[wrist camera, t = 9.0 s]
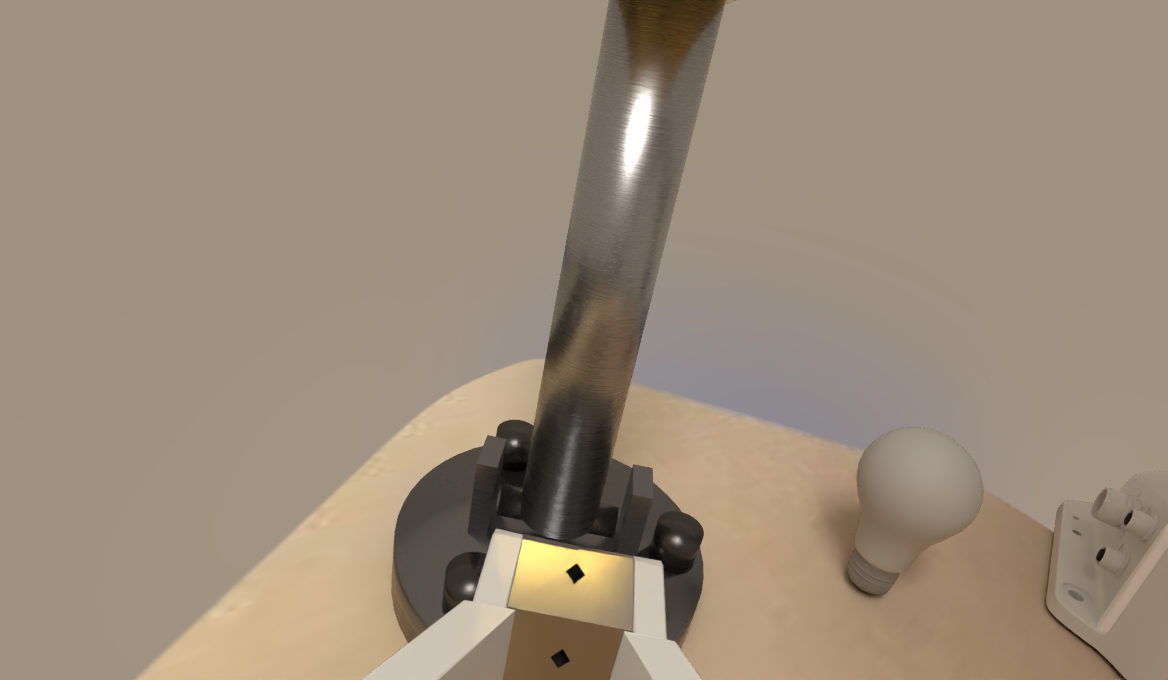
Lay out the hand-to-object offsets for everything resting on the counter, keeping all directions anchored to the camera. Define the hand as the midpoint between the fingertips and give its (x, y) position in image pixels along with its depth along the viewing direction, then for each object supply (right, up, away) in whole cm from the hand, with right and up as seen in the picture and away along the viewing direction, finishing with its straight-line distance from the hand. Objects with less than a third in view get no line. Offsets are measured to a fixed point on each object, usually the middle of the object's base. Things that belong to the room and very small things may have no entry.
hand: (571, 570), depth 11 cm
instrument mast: (-1, -5, +21) cm, 22 cm away
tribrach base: (-2, -9, +23) cm, 25 cm away
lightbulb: (+17, -11, +27) cm, 34 cm away
